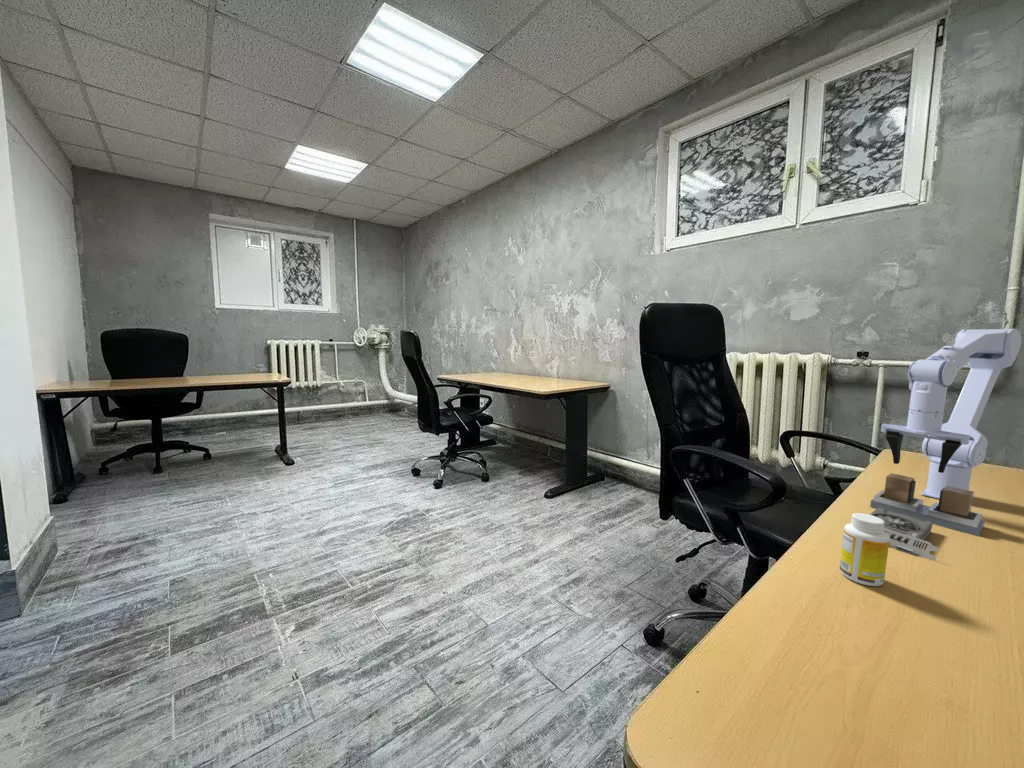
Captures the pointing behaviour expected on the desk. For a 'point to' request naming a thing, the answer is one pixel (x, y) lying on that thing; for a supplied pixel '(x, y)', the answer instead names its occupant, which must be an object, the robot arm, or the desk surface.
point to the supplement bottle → (864, 550)
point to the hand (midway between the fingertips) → (918, 467)
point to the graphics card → (906, 533)
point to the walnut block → (899, 488)
